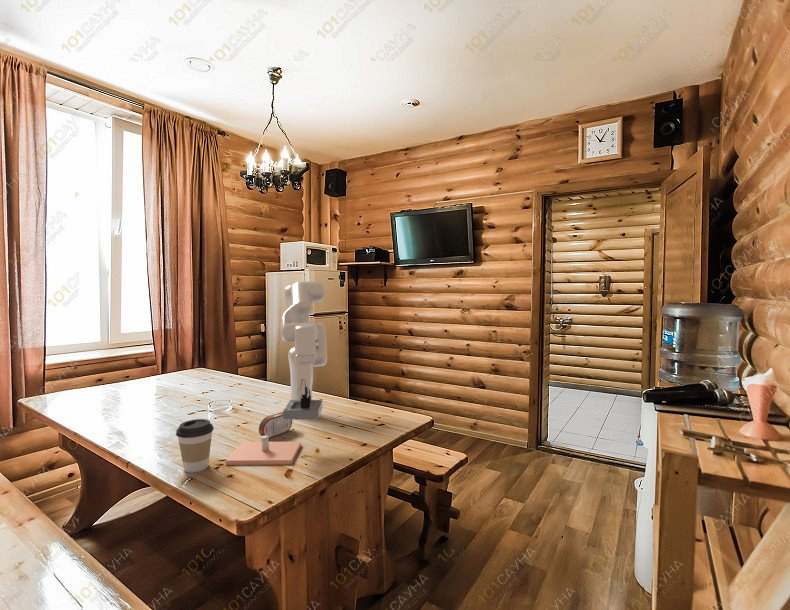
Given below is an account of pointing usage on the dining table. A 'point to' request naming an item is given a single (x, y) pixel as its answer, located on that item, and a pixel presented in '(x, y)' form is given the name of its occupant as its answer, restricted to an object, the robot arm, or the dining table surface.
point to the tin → (274, 425)
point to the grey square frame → (302, 410)
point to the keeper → (264, 453)
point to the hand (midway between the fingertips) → (305, 406)
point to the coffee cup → (195, 444)
